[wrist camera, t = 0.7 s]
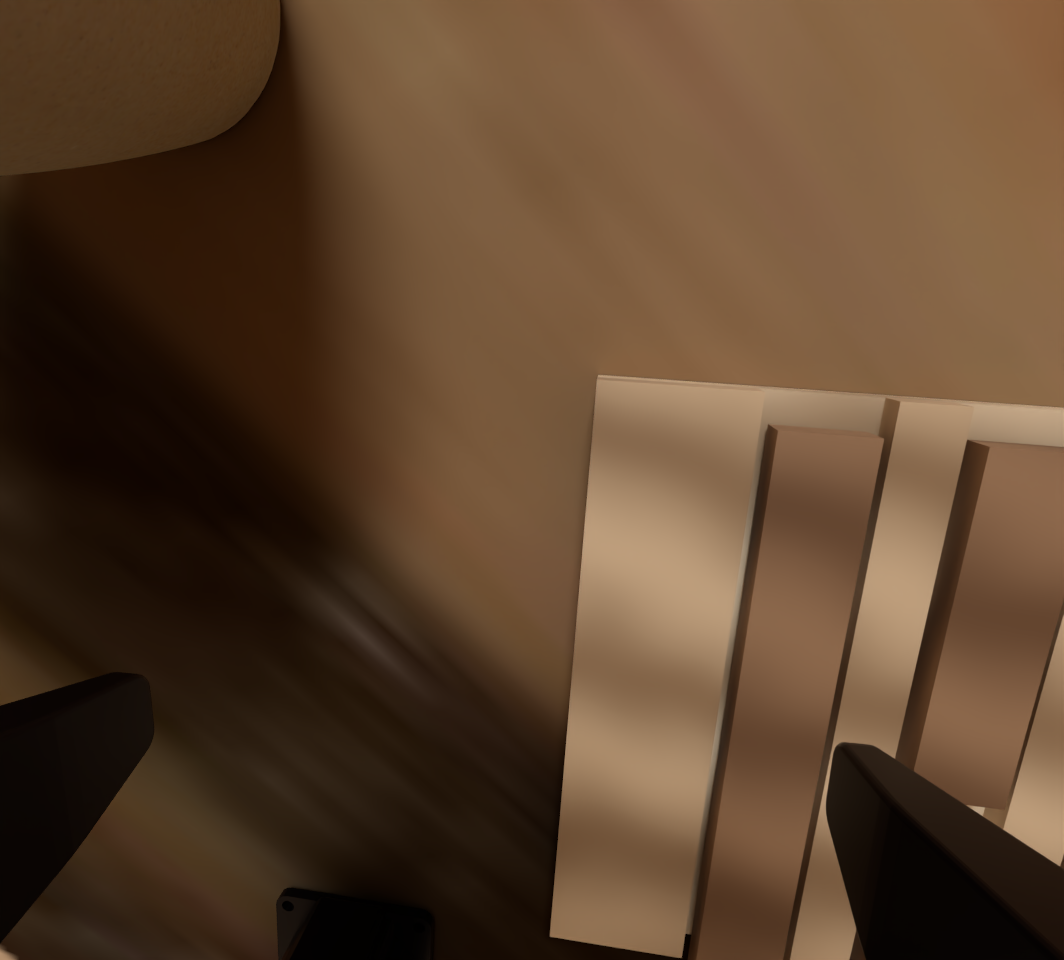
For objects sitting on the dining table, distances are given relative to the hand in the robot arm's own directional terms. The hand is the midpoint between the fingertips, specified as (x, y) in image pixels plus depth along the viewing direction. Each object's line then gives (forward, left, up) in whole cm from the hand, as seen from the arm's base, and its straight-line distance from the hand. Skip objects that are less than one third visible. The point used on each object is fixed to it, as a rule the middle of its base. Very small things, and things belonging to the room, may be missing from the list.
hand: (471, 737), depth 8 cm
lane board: (-6, -13, -14) cm, 20 cm away
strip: (-8, -8, -12) cm, 17 cm away
